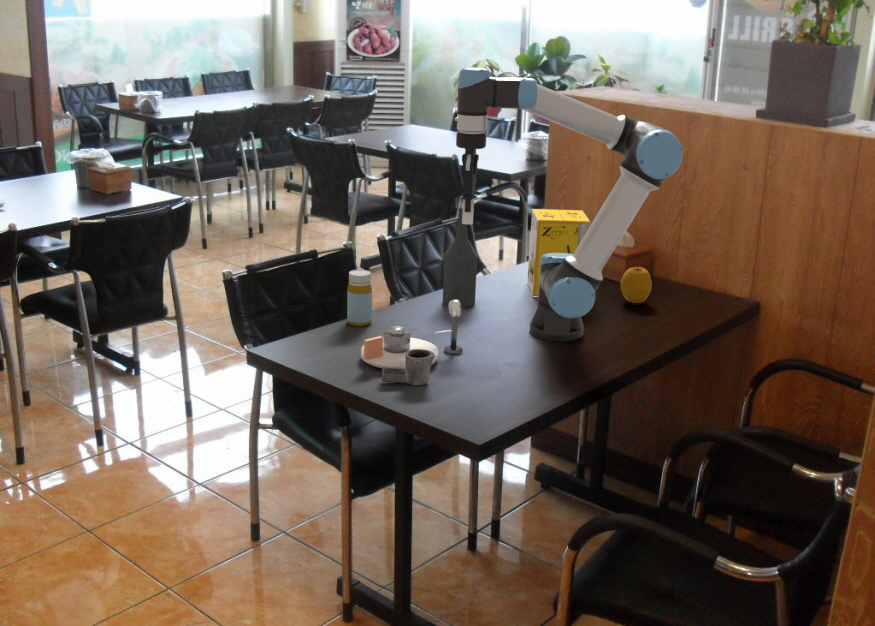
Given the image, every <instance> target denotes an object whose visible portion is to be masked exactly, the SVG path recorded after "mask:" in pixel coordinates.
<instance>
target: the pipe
mask: <svg viewBox="0 0 875 626" xmlns="http://www.w3.org/2000/svg"><path fill="white" fill-rule="evenodd" d="M434 357H435V354H434V353H433V352H432V351H429V350H424V349H412V350H409V351H407V352H406V353H405V358H406V366H405V367H390V366H383V368H381V381H382V382H385V383H393V384H394V383H398V384H409V385H411V386H414V387H415V386H424V385H426V384H427V383H428V382H429V381H430V372H431V367H432V365H433V364H432V361H433V359H434ZM431 364H432V365H431Z"/></svg>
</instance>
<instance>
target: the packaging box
mask: <svg viewBox="0 0 875 626" xmlns="http://www.w3.org/2000/svg"><path fill="white" fill-rule="evenodd" d="M530 224H531V225H530V235H529V236H530V238H529V239H530V240H529V251H528V252H529V253H528V266H527V267H528V268H527V281H528V283H527V285H528V284H529V286H528V288H529V287H530V289H529V291H530V290H531V291H530V294H531V293H532V294H531V297H532V296H538V292H539V277H540V263H541V257H542V256H543V255H544V254H548V253H568V254H574V252H575V250H576V249H577V247H578V245H579V244H580V242H581V241H582V239H583V237H584V236H585V234H586V232H587V231H588V229H589V227H590V226H591V221H590V219H589V218H588V216H587V215H586V214H585V212H584V210H580V209H579V210H576V209H551V208H550V209H549V208H548V209H547V208H531V223H530ZM527 281H526V282H527Z"/></svg>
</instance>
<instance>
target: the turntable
mask: <svg viewBox="0 0 875 626" xmlns="http://www.w3.org/2000/svg"><path fill="white" fill-rule="evenodd" d="M412 349H424V350H429V351H432V352H433V353H434V354H435V357H434V359H433V361H432V364H431V366H432V365H433V364H435V363H436V362H437V361H438V359H439V349H438V347H437V346H436V345H435V344H433V342H430V341H427V340H424V339H421V338H416V337H410V350H412ZM405 353H406V352H405ZM405 353H389V352H386V351H385V350H384V349H383V336H382V335H378V336H375V337H371V338H370V337H369V338H366V339H364V340H363V345H362V346H361V348H360V357H361V360H362V361H363V362H365V363H366V364H368V365H370V366H373V367H376V368H380V369H382V368H383V366H390V367H405V366H406V358H405Z"/></svg>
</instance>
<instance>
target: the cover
mask: <svg viewBox="0 0 875 626" xmlns="http://www.w3.org/2000/svg"><path fill="white" fill-rule="evenodd" d="M382 335H383V336H382V337H383V349H384V350H385V351H386V352H389V353H405V352H407V351H409V350H410V338H411V336H412V335H411V332H409V331H408V330H406V328H405V327H403V326H400V325H394V326H389V330H386V331H384V332H383V334H382Z"/></svg>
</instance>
